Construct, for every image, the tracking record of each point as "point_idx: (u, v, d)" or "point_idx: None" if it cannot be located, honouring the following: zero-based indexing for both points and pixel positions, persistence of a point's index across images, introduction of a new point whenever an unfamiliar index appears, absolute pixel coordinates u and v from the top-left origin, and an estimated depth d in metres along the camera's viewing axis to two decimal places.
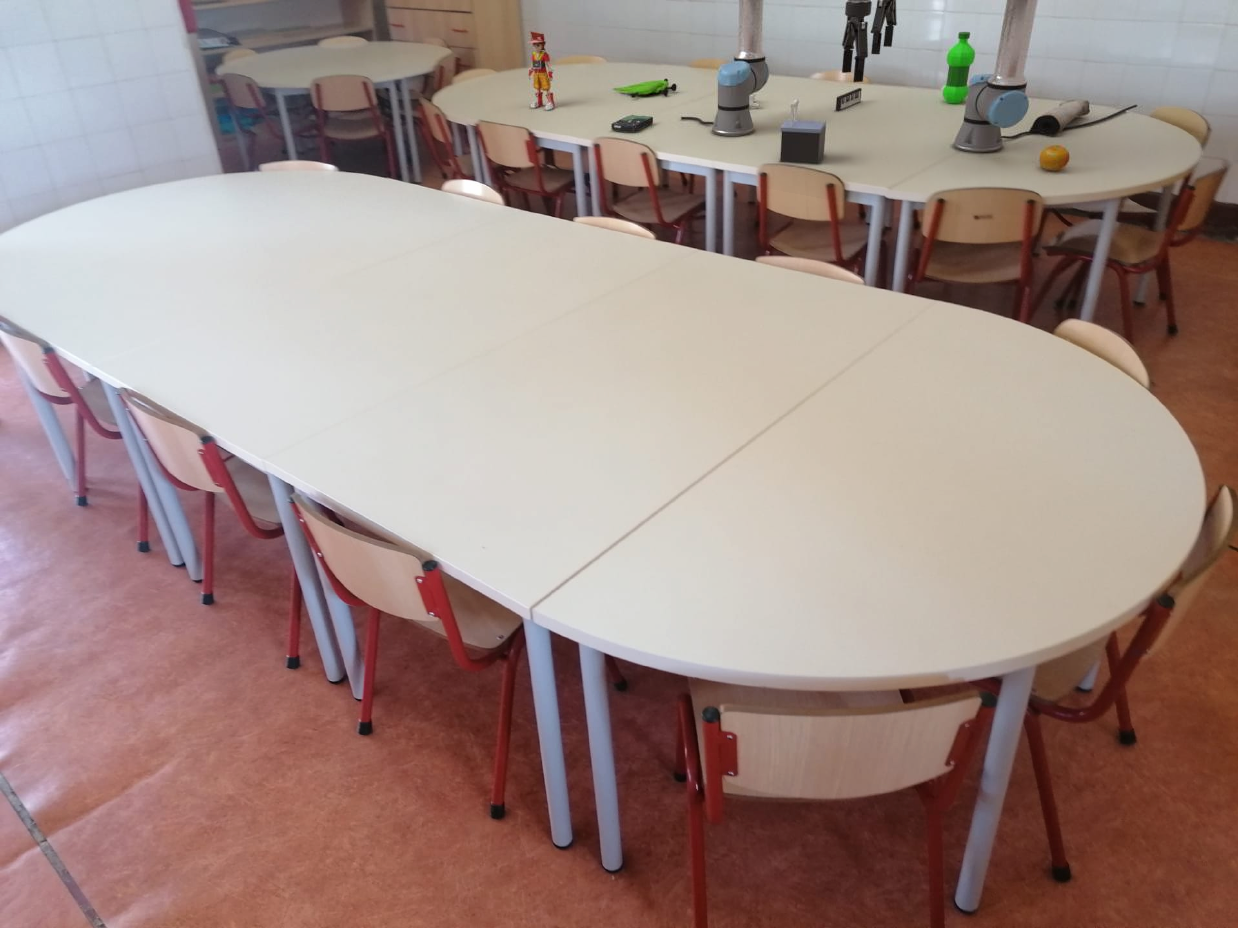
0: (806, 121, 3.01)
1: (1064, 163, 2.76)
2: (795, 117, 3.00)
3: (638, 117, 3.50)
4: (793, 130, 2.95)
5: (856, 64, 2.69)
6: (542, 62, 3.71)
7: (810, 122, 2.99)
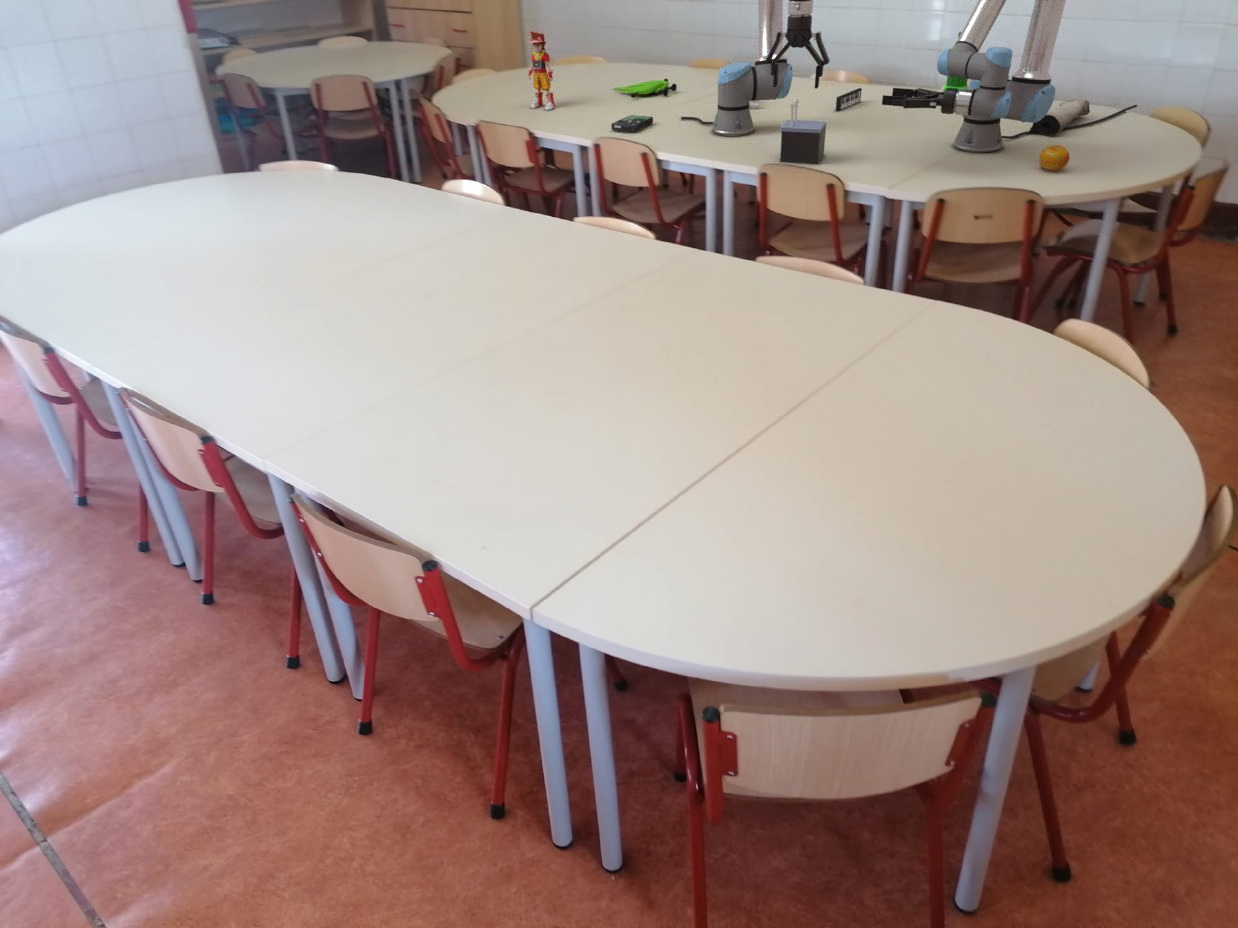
0: (806, 121, 3.01)
1: (1064, 163, 2.76)
2: (795, 117, 3.00)
3: (638, 117, 3.50)
4: (793, 130, 2.95)
5: None
6: (542, 62, 3.71)
7: (810, 122, 2.99)
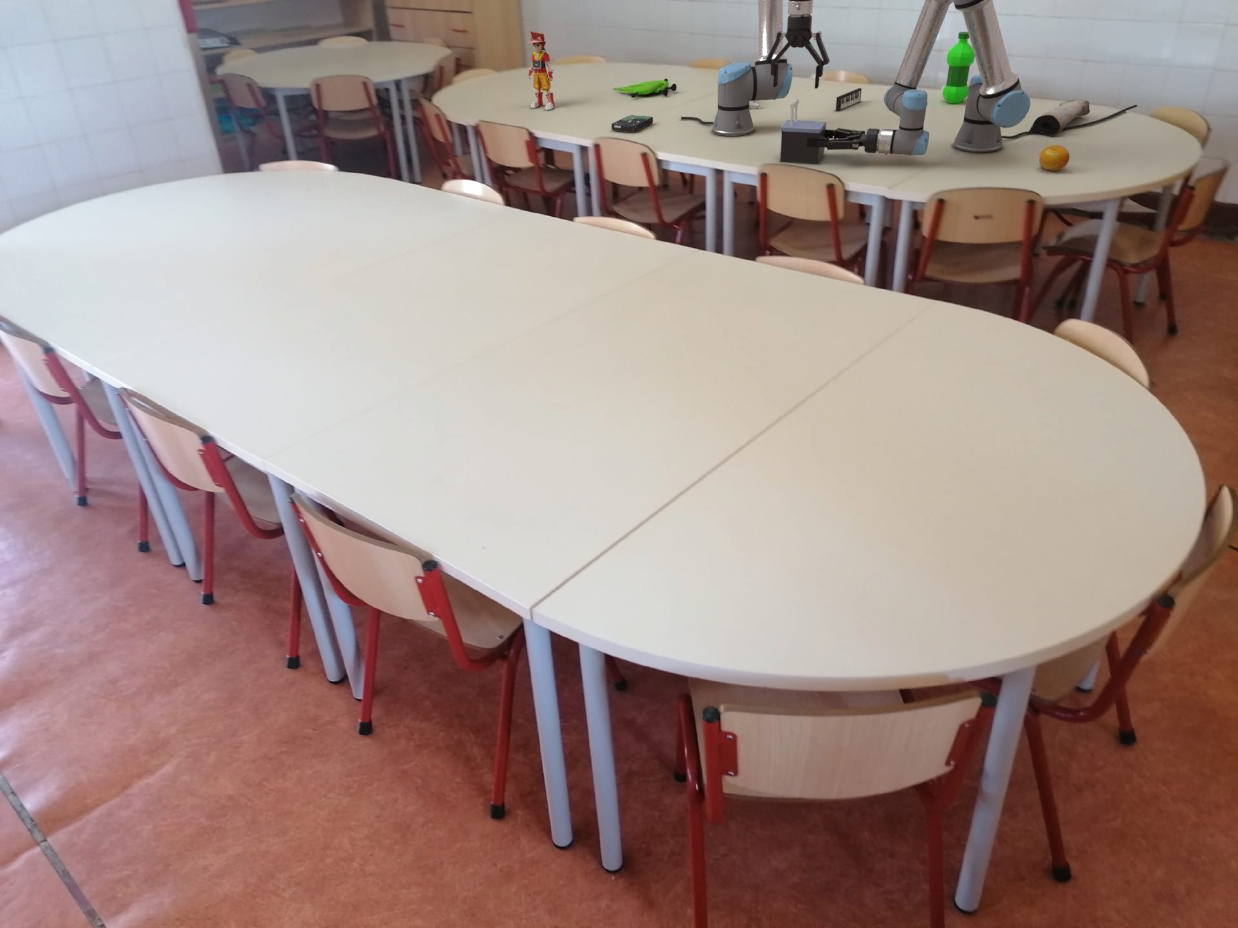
0: (806, 121, 3.01)
1: (1064, 163, 2.76)
2: (795, 117, 3.00)
3: (638, 117, 3.50)
4: (793, 130, 2.95)
5: None
6: (542, 62, 3.71)
7: (810, 122, 2.99)
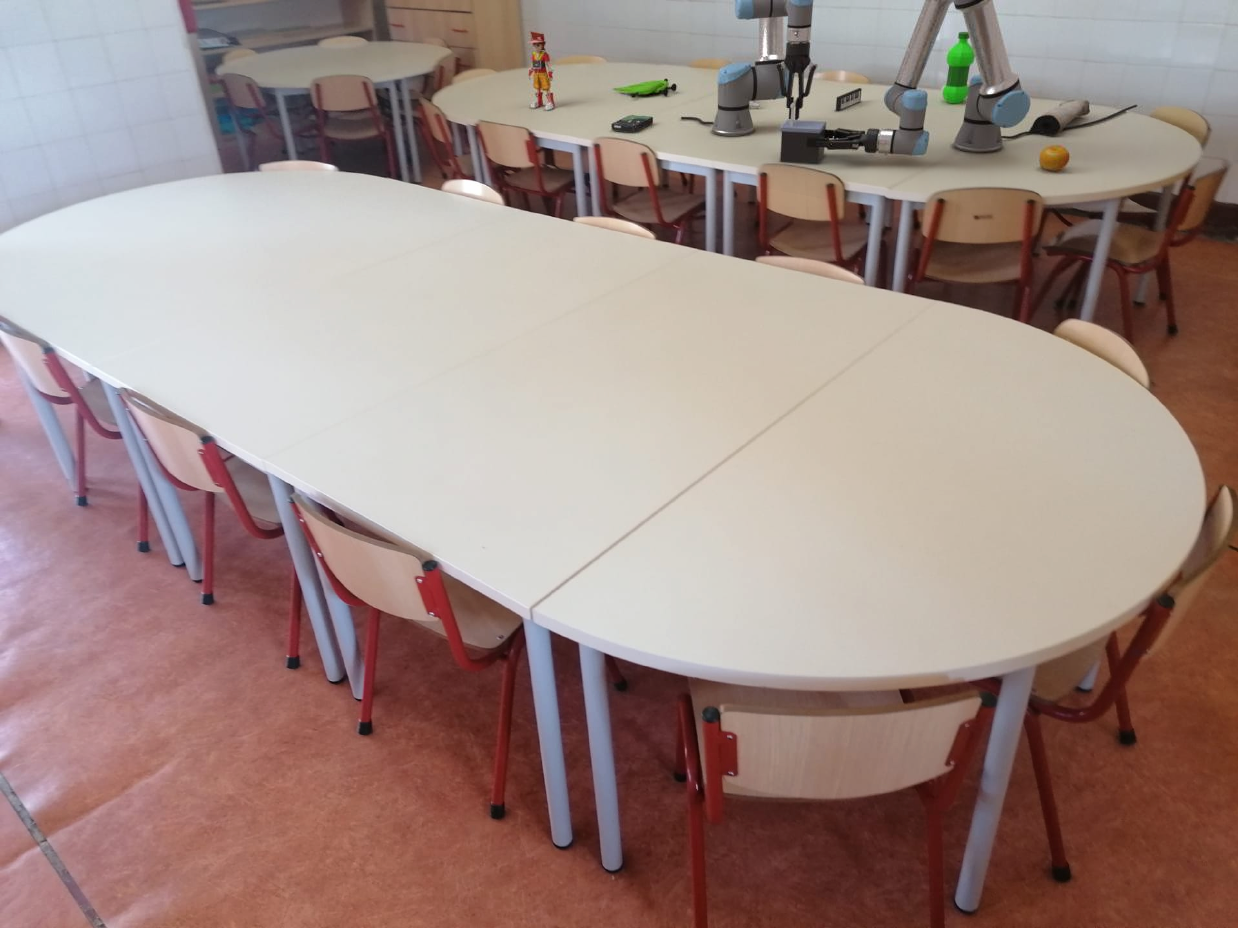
0: (806, 121, 3.01)
1: (1064, 163, 2.76)
2: None
3: (638, 117, 3.50)
4: (793, 130, 2.95)
5: None
6: (542, 62, 3.71)
7: (810, 122, 2.99)
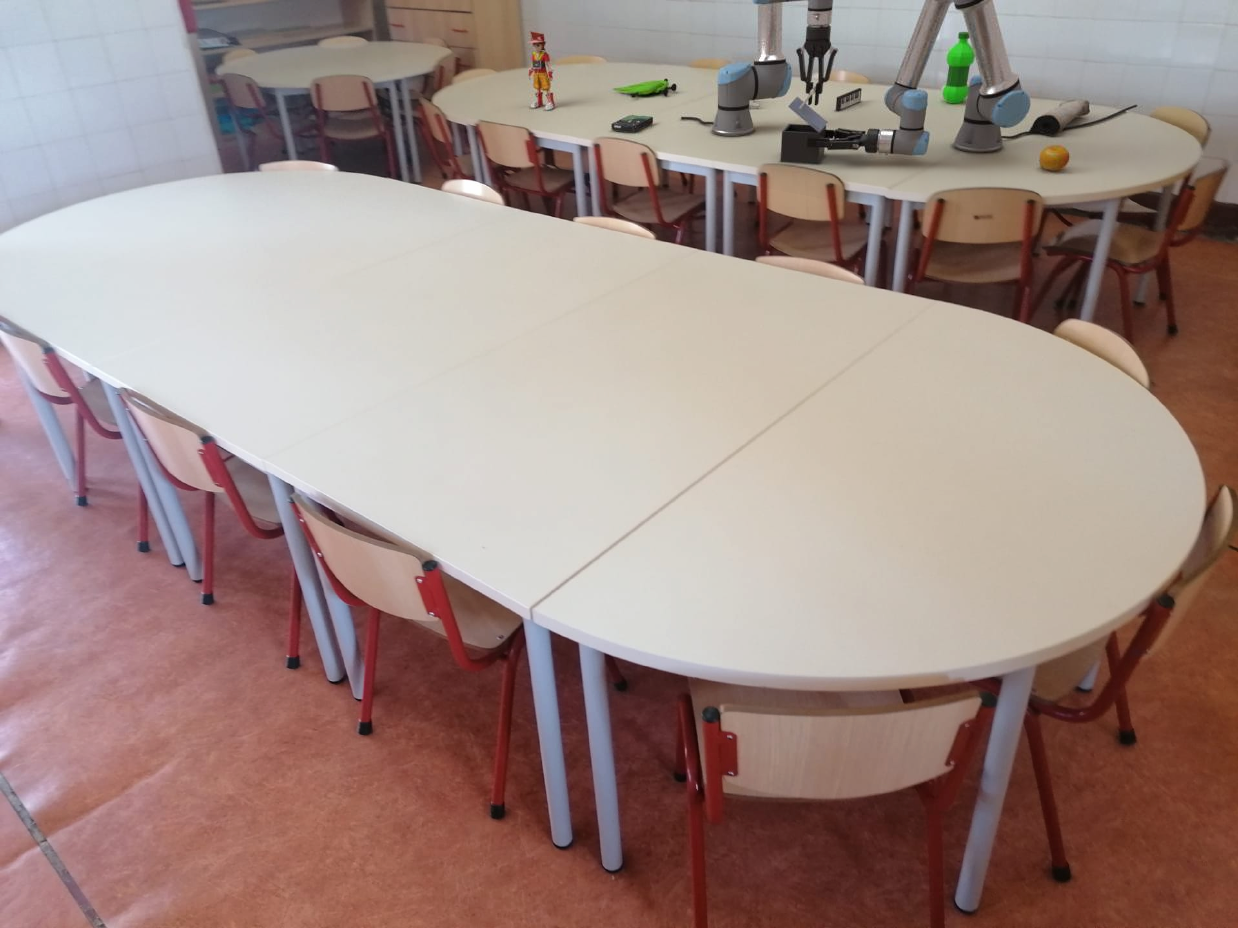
0: (812, 110, 2.98)
1: (1064, 163, 2.76)
2: None
3: (638, 117, 3.50)
4: (799, 114, 2.92)
5: None
6: (542, 62, 3.71)
7: (815, 114, 2.97)
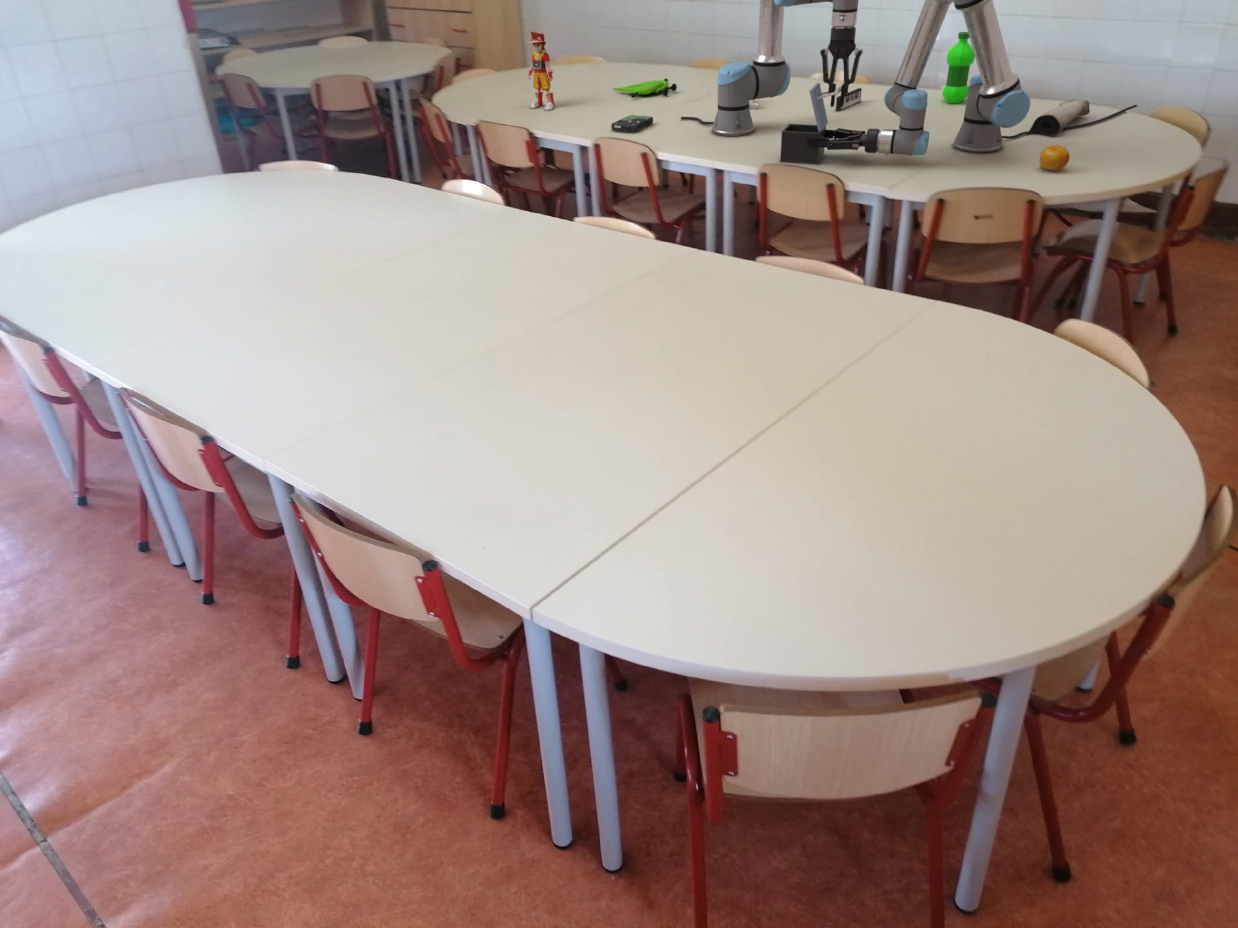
0: (823, 104, 2.96)
1: (1064, 163, 2.76)
2: (824, 93, 2.92)
3: (638, 117, 3.50)
4: (814, 104, 2.88)
5: None
6: (542, 62, 3.71)
7: (823, 110, 2.96)
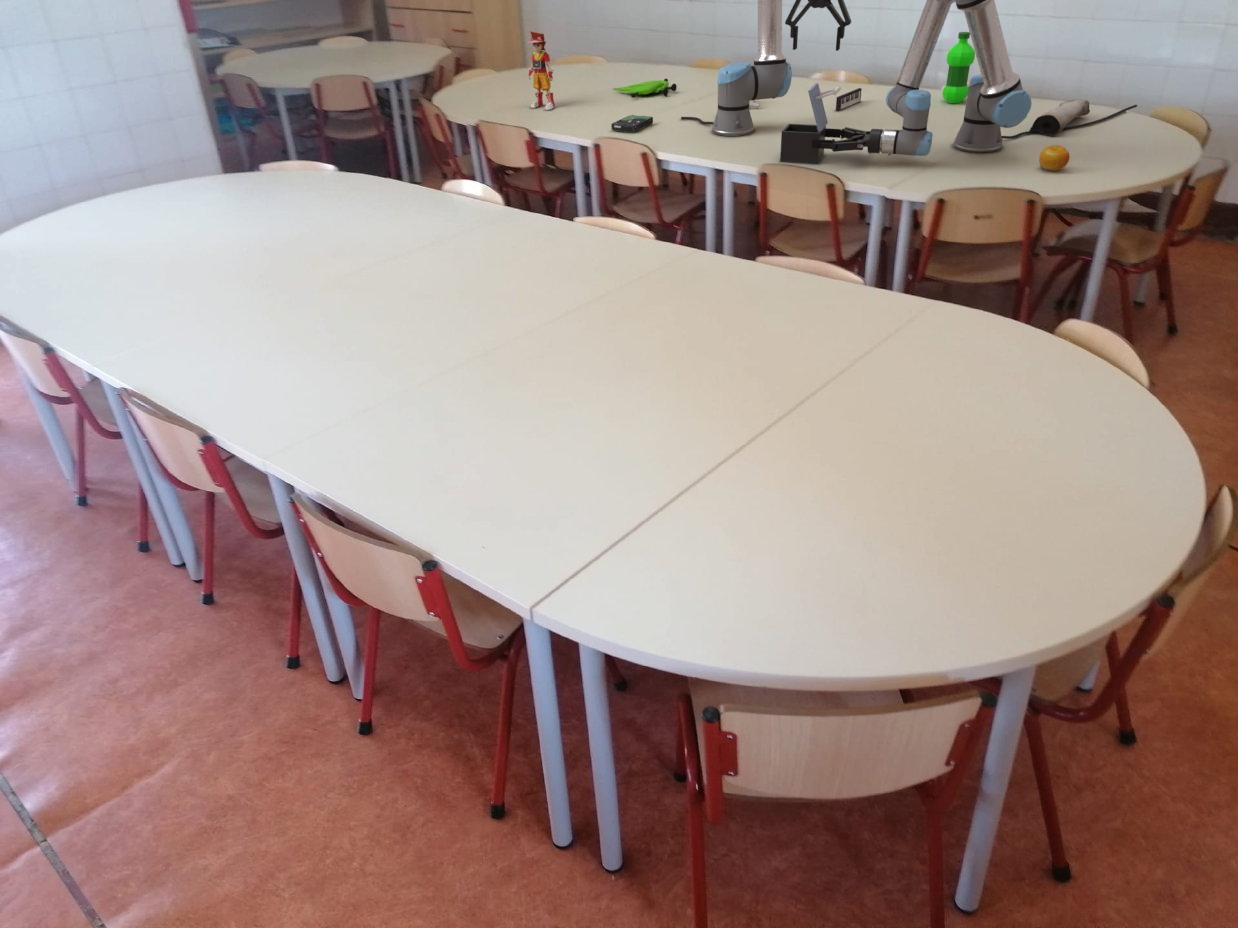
0: (822, 104, 2.96)
1: (1064, 163, 2.76)
2: (823, 93, 2.92)
3: (638, 117, 3.50)
4: (813, 104, 2.89)
5: None
6: (542, 62, 3.71)
7: (823, 110, 2.96)
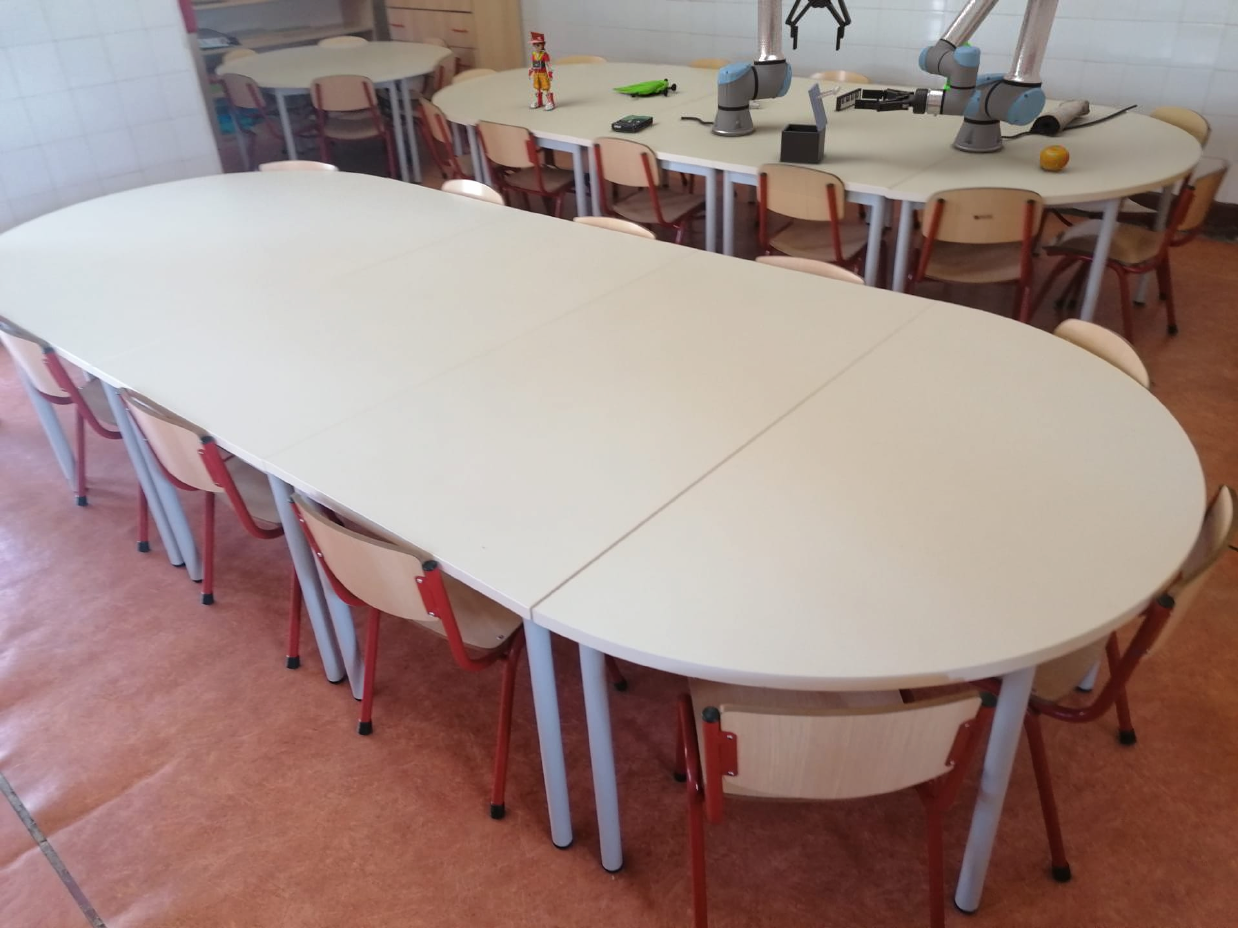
0: (822, 104, 2.96)
1: (1064, 163, 2.76)
2: (823, 93, 2.92)
3: (638, 117, 3.50)
4: (812, 104, 2.89)
5: None
6: (542, 62, 3.71)
7: (823, 109, 2.96)
